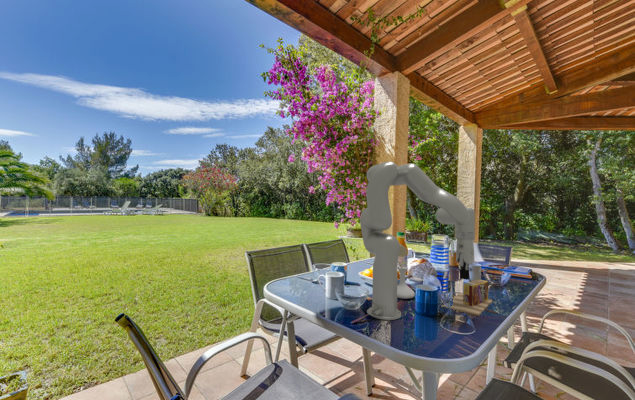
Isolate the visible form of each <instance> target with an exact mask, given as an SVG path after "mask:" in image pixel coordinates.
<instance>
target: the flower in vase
mask: <svg viewBox="0 0 635 400" xmlns="http://www.w3.org/2000/svg"><path fill="white" fill-rule="evenodd" d="M399 244H400V253H399V258H403V257H406V256H407V255H408V250H407V247H405V245H402V244H401V243H399ZM408 261H409V260H408ZM408 261H404V262H402V263H400V261H399V260H398V265H399V266H398V267H397V271H398V272H399V282H398V283H397V299H404V300H405V299H406V300H407V299H412V298H414V297H415V296H416V293H415V291H414V290H413V289H412V288H411V287H410V286H408V285H407V283H406V273H407V271H408V270H409V267H406V266H403V265H405V264H407V263H408Z"/></svg>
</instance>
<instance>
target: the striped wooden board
mask: <svg viewBox="0 0 635 400" xmlns="http://www.w3.org/2000/svg"><path fill="white" fill-rule="evenodd" d="M452 298H453V305H452V306H451V307H447V306H445V305H443V304H442V305H441V306H440V307H441V308H443V307H446V308H445V309H447V308H451V309H453V310H452V311H455V310H456V311H455V312H459V311H460V312H459V313H463V312H464V314H466V315H471V316H476V317H479V316H481V314H482V313H483V312H484V311H485V310H486V309H487V308H489V306H490V305H491V304H492V303H493V302H494V300H493V299H490V298H488V300H487V301H485V302H482V303H480V304H477V305H475V306H470V305H466V304H463V292H462V293H461V292H460V293H458V294H457V295H455V296H454V297H452ZM451 309H450V310H451Z"/></svg>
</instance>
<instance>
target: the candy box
mask: <svg viewBox="0 0 635 400" xmlns="http://www.w3.org/2000/svg"><path fill="white" fill-rule="evenodd" d="M462 289H463V291H462V294H463V304H466V305H470V306H475V305H477V304H480V303H482V302H485V301H487V300H488V299H489V281H488V280H483V279H476V280H473V281H472V280H471V281H469V282H465V283H463V285H462Z"/></svg>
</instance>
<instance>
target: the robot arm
mask: <svg viewBox="0 0 635 400" xmlns="http://www.w3.org/2000/svg"><path fill="white" fill-rule="evenodd" d="M366 179H367V182H368V183H367V186H366V191H365V192H366V193H365V196H366V206H367V207H366V208H364V209H363V210H362V211H361V214H360V215H359V216H360V217H359V225H360V229H361V236H362V237H361V238H362V241H363V245H364V248H365V250H366V251H367V252H369V253H370V254H371V255H375V256H374V260H373V263H372V264H373V265H372V295H371V296H372V300H371V301H372V302H371V306H370V307H368V309H367V310H366V313H367V314H368V316H369V315H370V317H373V318H375V319H378V320H384V321H385V320H386V321H392V320H393V321H394V320H398V319H400V318H402V311H401V310H399V309H398V297H397V285H398V268H397V267H399V266H398V265H399V263H398V261H399V258H400V257H399V253H400V244H401V243H400V242H399V240H398V238H397V237H396V236H394V235H393V234H389V233H385V232H383V231H387V230H389V229H390V228H391V227H392V223H393V217H392V211H391V205H390V201H389V198H390V197H389V190H390V188H391V186H402V185H404V186H407V188H408V189H410V190H411V192H412V193H413V194H414V195H415V196H416V197H418V199H419V200H420V201H421V202H424V203H427V204H429V205H433V206H435V207H439V209H437V211H436V212H435V219H436V220H437V222H439V223H441V224H443V225H454V239H455V240H456V245H455V247H456V249H455V251H456V252H455V257H456V258H455V261H456V263H459V264H458V265H459V278H460V279H461V280H468V281H469V279H470V264H472V263H474V262H475V247H474V246H475V245H474V241H475V236H476V235H475V230H476V229H475V223H476V222H475V221H476V219H475V214H476V213H475V209H474V208H473V207H466V206H465V204H464V203H463V202H462V201H461V200H460V199H459V198H458V197H457V196H455V195H453V194H451V193H450V192H449V191H446V190H444V189H443V188H440V186H437V185H436V184H435V183H434V182H433V180H432V179H431V178H430V177H429V176H428V175H427V174H426V173H425V172H424V171H423V170H422V168H420V167H419V166H418V165H417V164H416V163H411V162H410V163H405V164H401V165H397V164H396V162H393V161H383V162H380V163H378V164H374V165H373V166H371V167H369V169H368V170H367V172H366Z"/></svg>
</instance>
